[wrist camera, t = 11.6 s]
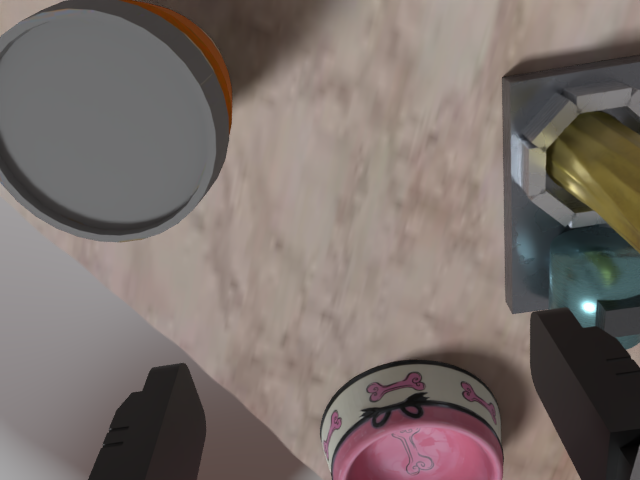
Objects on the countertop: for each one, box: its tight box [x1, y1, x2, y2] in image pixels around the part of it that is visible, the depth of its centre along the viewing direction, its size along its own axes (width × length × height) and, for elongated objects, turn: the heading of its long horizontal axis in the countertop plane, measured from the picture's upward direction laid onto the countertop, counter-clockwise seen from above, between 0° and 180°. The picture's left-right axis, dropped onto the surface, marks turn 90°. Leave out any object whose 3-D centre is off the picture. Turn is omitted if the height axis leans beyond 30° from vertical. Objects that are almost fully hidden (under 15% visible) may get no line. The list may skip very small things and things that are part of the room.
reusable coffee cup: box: [0, 0, 232, 242], centre depth 35 cm, size 13×13×15 cm
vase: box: [546, 112, 640, 253], centre depth 36 cm, size 6×6×14 cm
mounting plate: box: [502, 55, 640, 350], centre depth 42 cm, size 20×11×10 cm, turn 9°
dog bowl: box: [320, 360, 504, 480], centre depth 55 cm, size 18×19×7 cm
